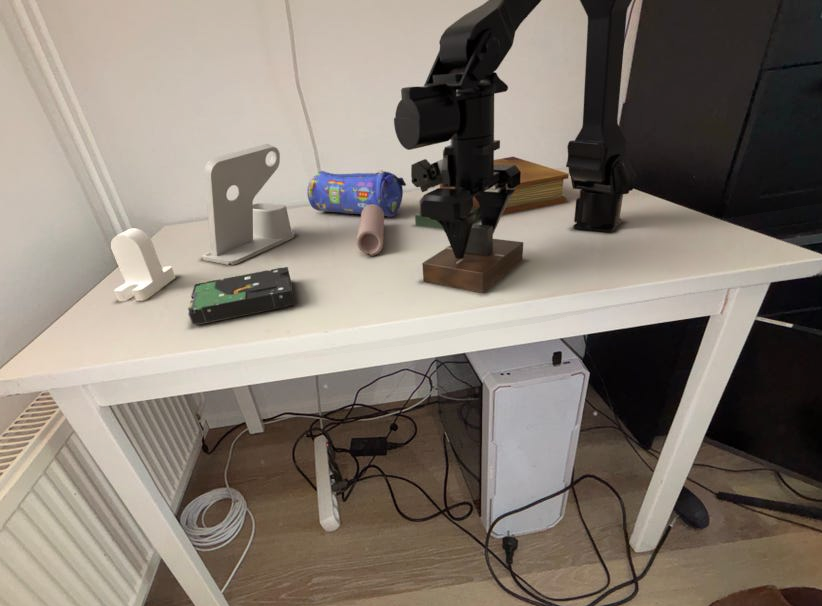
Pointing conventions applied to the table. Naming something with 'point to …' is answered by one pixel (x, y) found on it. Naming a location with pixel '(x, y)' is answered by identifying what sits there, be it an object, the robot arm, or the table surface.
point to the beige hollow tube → (371, 230)
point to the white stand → (138, 266)
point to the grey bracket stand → (243, 206)
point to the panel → (473, 266)
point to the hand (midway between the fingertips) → (473, 248)
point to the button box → (433, 223)
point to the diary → (532, 186)
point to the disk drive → (240, 295)
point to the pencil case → (355, 192)
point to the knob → (480, 240)
